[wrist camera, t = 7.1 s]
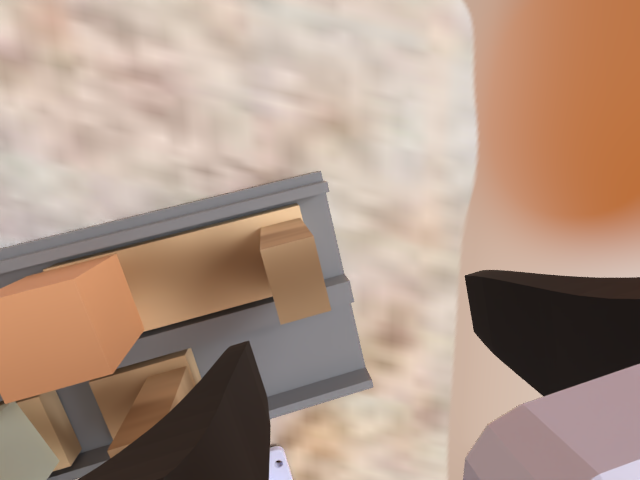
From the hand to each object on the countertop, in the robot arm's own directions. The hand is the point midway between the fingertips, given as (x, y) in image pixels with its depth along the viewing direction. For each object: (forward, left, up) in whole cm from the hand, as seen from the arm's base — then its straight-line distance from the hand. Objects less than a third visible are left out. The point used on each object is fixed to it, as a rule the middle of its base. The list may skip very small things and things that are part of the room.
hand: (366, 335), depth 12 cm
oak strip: (+2, +7, -10) cm, 12 cm away
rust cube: (+1, +11, -8) cm, 14 cm away
